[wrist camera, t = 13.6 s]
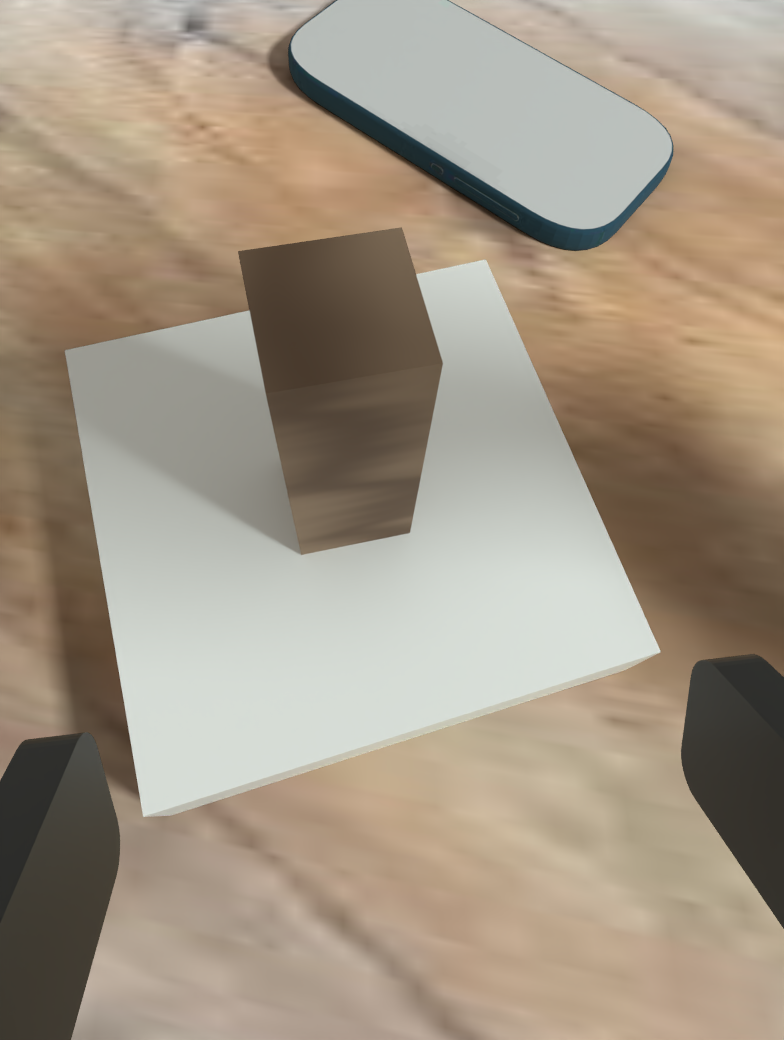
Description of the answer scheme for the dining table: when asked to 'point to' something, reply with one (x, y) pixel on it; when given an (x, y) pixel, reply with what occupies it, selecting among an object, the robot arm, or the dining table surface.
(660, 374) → the dining table surface
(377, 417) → the walnut block
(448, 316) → the plinth
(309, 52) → the power bank
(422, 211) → the dining table surface
